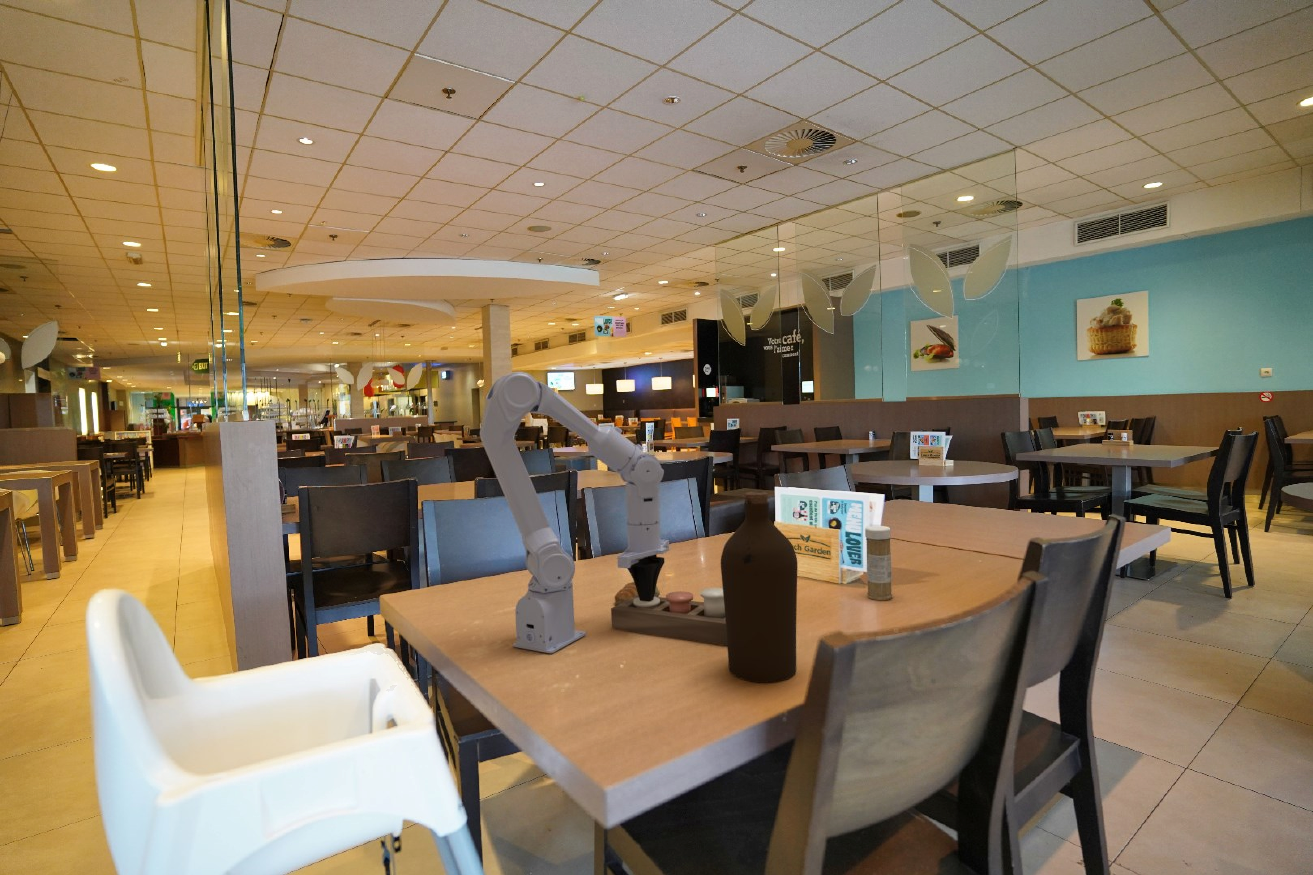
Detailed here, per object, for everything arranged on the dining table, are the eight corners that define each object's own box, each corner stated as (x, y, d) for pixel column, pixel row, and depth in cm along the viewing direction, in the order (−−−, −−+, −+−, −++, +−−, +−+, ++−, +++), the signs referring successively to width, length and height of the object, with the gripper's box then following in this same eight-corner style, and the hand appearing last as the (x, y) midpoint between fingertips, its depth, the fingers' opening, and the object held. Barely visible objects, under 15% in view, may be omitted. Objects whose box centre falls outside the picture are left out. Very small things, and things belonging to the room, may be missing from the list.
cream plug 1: (652, 628, 111) (651, 605, 111) (629, 625, 113) (628, 602, 113) (665, 620, 115) (664, 597, 115) (642, 617, 117) (641, 595, 117)
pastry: (632, 610, 123) (631, 590, 123) (605, 605, 127) (605, 585, 127) (662, 597, 131) (661, 578, 130) (636, 593, 135) (635, 575, 134)
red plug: (686, 624, 108) (685, 600, 108) (662, 620, 110) (661, 597, 110) (698, 616, 112) (697, 592, 112) (674, 613, 114) (673, 590, 114)
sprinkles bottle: (875, 592, 127) (873, 524, 127) (897, 597, 124) (895, 526, 123) (862, 597, 124) (860, 527, 124) (883, 602, 121) (881, 530, 120)
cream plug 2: (722, 621, 105) (721, 596, 104) (696, 617, 107) (695, 593, 107) (733, 613, 109) (732, 589, 108) (708, 609, 111) (707, 586, 111)
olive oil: (811, 681, 88) (805, 495, 87) (733, 688, 87) (726, 499, 86) (787, 652, 98) (782, 486, 97) (718, 658, 97) (711, 490, 96)
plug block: (730, 646, 102) (730, 624, 102) (611, 628, 112) (610, 608, 112) (751, 628, 110) (750, 607, 109) (638, 613, 120) (637, 594, 120)
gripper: (642, 531, 105) (645, 614, 106) (682, 516, 118) (685, 591, 118) (605, 528, 109) (609, 609, 109) (648, 515, 121) (651, 587, 122)
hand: (646, 600), depth 114 cm, fingers closed, pressing on cream plug 1
